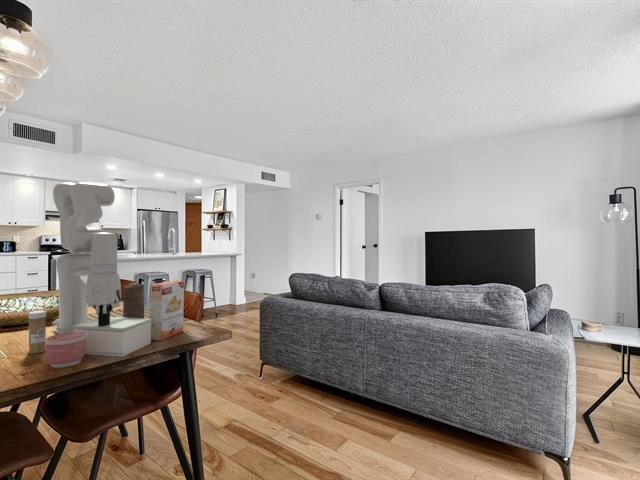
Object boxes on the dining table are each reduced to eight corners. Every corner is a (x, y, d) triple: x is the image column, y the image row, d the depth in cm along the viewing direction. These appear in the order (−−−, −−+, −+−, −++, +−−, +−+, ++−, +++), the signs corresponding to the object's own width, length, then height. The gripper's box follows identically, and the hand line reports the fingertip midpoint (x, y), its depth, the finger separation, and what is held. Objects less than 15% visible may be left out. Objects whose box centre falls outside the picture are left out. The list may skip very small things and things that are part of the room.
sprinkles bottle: (36, 354, 112) (36, 313, 112) (24, 353, 113) (24, 312, 113) (49, 349, 117) (49, 310, 117) (38, 349, 117) (38, 309, 117)
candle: (140, 337, 131) (140, 285, 131) (119, 338, 130) (119, 285, 130) (146, 332, 139) (147, 283, 139) (127, 333, 138) (127, 283, 138)
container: (81, 354, 113) (81, 330, 113) (91, 362, 106) (91, 336, 106) (41, 363, 105) (41, 337, 105) (49, 372, 98) (49, 344, 98)
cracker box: (162, 341, 127) (162, 285, 127) (147, 340, 128) (148, 284, 128) (184, 331, 141) (184, 280, 141) (171, 330, 142) (171, 280, 142)
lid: (72, 328, 113) (72, 325, 113) (106, 318, 128) (106, 316, 128) (122, 331, 110) (122, 328, 110) (151, 321, 125) (151, 318, 125)
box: (73, 353, 114) (73, 329, 114) (106, 340, 128) (106, 319, 127) (122, 356, 111) (122, 331, 111) (150, 343, 125) (150, 321, 125)
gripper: (74, 270, 112) (74, 326, 112) (115, 271, 110) (115, 328, 110) (93, 268, 119) (93, 321, 119) (132, 269, 117) (132, 323, 117)
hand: (104, 324), depth 114 cm, fingers closed
